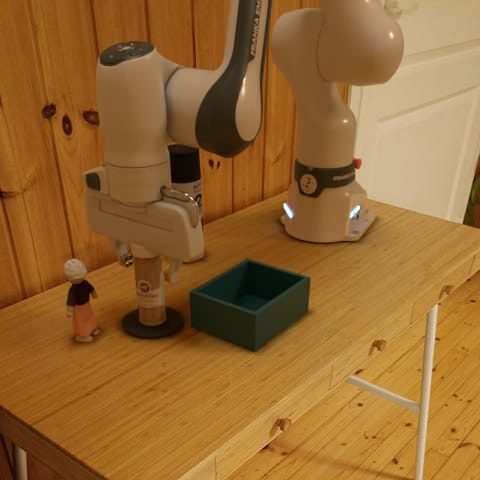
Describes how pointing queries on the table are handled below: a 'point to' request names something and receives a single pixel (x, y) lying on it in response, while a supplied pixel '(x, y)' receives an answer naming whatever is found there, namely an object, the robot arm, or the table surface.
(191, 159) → the spray can
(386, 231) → the table surface
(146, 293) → the sprinkles bottle
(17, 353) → the table surface
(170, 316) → the pad
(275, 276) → the basin
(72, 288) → the grandmother figurine
